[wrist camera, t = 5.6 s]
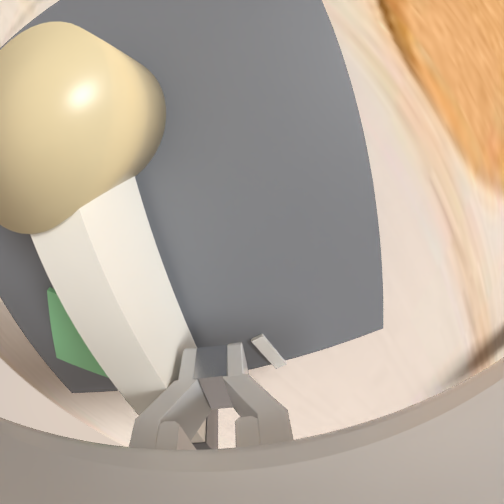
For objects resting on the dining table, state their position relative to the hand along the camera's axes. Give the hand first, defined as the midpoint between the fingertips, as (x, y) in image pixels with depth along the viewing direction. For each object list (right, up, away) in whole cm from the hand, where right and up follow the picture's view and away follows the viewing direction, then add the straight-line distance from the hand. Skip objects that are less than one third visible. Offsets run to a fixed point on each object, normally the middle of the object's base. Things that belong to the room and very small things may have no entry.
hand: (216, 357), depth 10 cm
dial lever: (-3, +4, 0) cm, 5 cm away
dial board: (-4, +6, +1) cm, 8 cm away
